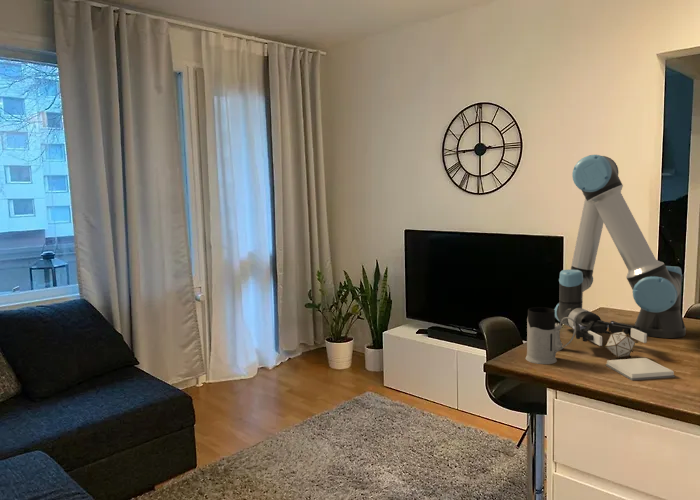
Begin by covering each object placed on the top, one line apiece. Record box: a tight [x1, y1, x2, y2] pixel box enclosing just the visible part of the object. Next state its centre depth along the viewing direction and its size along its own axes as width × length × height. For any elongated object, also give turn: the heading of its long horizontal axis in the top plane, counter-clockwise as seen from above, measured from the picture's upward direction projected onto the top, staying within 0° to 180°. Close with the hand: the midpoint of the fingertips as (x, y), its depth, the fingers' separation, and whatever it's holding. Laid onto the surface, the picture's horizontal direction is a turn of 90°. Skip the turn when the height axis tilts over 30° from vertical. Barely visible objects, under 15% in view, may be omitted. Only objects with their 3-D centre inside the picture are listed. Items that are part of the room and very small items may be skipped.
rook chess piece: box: [555, 322, 564, 351], centre depth 171 cm, size 4×4×8 cm
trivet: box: [605, 357, 676, 381], centre depth 149 cm, size 12×12×2 cm
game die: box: [602, 329, 639, 360], centre depth 160 cm, size 9×8×10 cm
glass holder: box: [525, 306, 576, 365], centre depth 159 cm, size 9×14×15 cm, turn 51°
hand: (623, 339), depth 158 cm, fingers open, 13 cm apart
